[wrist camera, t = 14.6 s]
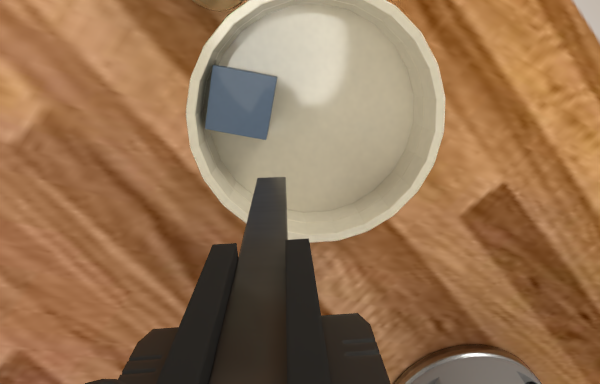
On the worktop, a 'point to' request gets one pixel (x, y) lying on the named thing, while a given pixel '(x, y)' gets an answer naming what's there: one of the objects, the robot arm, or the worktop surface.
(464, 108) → the worktop surface
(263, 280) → the chopstick
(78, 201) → the worktop surface
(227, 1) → the utensil pot
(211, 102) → the block
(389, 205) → the bowl
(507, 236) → the worktop surface
